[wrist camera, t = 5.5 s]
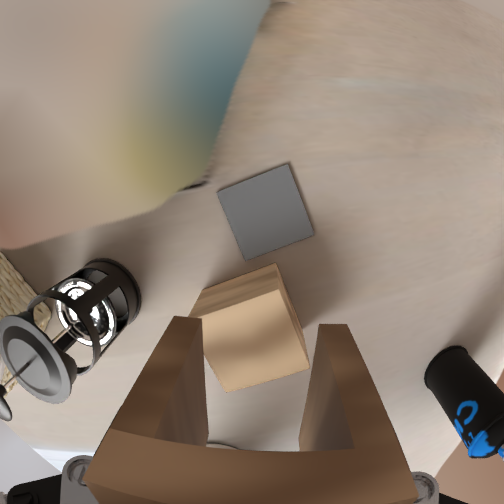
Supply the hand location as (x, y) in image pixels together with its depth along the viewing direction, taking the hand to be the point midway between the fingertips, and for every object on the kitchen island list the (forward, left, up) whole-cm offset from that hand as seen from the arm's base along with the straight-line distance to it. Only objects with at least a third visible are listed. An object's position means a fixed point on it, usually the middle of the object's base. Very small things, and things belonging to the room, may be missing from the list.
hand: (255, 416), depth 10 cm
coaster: (+3, -2, -25) cm, 25 cm away
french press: (+1, +21, -25) cm, 33 cm away
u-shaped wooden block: (0, 0, -2) cm, 2 cm away
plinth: (-7, +4, -25) cm, 26 cm away
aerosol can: (-28, -19, -25) cm, 42 cm away
